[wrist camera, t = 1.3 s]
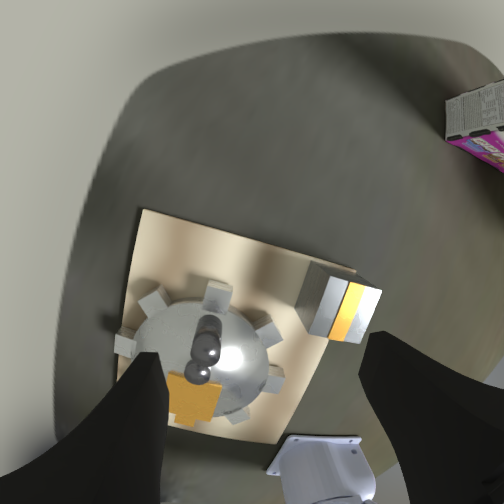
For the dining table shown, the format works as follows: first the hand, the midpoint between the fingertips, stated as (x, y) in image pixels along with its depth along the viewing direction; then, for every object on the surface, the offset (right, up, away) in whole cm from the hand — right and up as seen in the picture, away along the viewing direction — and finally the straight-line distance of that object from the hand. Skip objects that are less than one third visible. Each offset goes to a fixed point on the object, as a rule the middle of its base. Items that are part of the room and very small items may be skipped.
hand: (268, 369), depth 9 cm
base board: (-3, -5, +14) cm, 15 cm away
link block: (+5, +1, +13) cm, 14 cm away
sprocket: (-5, -5, +13) cm, 15 cm away
